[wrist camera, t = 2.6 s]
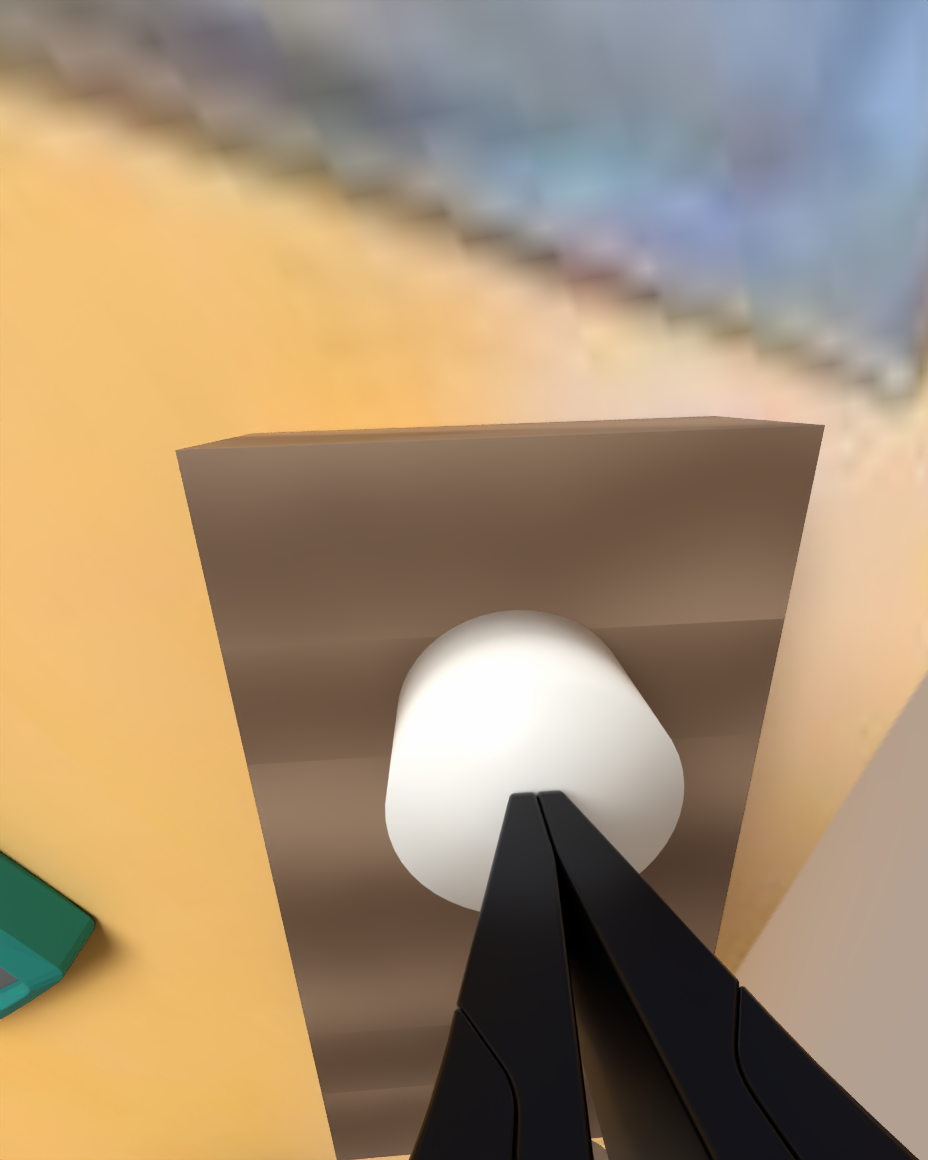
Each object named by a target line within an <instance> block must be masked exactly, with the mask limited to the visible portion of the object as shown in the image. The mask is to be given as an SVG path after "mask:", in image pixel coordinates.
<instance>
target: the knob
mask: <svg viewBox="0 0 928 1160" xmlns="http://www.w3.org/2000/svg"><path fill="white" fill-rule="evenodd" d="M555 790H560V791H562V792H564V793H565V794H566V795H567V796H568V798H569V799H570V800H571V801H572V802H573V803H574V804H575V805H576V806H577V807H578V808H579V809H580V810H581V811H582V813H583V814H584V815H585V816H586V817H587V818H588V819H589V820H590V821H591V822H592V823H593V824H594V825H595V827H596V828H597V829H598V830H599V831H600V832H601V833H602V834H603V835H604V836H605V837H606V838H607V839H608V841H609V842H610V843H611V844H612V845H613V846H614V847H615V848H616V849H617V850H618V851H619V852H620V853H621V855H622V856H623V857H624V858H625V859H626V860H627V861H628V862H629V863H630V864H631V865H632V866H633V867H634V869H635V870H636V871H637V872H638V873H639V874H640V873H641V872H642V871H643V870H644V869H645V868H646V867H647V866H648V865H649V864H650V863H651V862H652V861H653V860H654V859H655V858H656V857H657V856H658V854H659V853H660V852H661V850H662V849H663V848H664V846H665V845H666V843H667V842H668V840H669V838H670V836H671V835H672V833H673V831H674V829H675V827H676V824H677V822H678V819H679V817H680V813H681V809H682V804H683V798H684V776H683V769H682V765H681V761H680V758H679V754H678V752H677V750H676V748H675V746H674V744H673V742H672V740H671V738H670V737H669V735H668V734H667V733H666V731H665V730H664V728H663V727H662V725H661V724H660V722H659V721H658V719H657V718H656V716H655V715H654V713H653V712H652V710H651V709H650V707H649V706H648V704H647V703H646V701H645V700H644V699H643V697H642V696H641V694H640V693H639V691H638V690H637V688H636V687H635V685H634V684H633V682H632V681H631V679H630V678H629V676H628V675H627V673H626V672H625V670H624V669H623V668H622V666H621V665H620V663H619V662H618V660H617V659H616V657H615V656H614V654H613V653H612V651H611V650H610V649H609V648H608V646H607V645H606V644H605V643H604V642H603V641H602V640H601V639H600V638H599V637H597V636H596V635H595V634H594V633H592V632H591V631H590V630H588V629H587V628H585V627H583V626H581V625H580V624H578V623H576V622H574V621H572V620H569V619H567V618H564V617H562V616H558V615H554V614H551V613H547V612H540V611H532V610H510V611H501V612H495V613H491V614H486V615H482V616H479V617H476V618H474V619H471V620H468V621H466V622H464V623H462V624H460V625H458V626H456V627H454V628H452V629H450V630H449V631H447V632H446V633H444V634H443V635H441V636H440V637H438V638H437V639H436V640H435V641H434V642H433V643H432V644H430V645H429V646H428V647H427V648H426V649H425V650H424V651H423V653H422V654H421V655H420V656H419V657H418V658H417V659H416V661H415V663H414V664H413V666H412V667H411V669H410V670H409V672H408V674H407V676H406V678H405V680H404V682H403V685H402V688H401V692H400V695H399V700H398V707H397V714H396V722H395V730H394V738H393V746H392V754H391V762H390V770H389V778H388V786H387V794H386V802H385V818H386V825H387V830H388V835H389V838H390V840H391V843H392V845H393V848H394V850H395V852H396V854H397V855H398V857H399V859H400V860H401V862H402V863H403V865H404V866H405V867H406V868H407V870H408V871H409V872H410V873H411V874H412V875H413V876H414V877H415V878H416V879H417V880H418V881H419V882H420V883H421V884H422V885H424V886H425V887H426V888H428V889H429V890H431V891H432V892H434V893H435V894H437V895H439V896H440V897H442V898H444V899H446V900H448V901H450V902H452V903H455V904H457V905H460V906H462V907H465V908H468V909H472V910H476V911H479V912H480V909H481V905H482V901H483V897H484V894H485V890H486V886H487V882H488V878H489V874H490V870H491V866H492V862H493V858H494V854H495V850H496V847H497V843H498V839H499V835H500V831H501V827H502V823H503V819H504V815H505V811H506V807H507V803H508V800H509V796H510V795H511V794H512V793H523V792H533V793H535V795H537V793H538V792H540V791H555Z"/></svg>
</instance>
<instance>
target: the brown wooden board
mask: <svg viewBox="0 0 928 1160" xmlns="http://www.w3.org/2000/svg"><path fill="white" fill-rule="evenodd" d="M824 427H825V425H815V424H803V423H791V422H778V421H766V420H754V419H742V418H730V417H717V416H709V417H683V418H656V419H629V420H603V421H576V422H549V423H523V424H496V425H469V426H443V427H416V428H389V429H363V430H336V431H310V432H283V433H256V434H248V435H244V436H239V437H234V438H230V439H225V440H221V441H216V442H211V443H207V444H202V445H198V446H193V447H188V448H184V449H179V450H176V455H177V459H178V463H179V468H180V472H181V477H182V481H183V485H184V490H185V494H186V499H187V503H188V507H189V512H190V516H191V521H192V525H193V529H194V534H195V538H196V543H197V547H198V551H199V556H200V560H201V565H202V569H203V573H204V578H205V582H206V586H207V591H208V595H209V600H210V604H211V608H212V613H213V617H214V622H215V626H216V630H217V635H218V639H219V644H220V648H221V652H222V657H223V661H224V666H225V670H226V674H227V679H228V683H229V688H230V692H231V696H232V701H233V705H234V710H235V714H236V718H237V723H238V727H239V731H240V736H241V740H242V745H243V749H244V753H245V758H246V762H247V767H248V771H249V775H250V780H251V784H252V789H253V793H254V797H255V802H256V806H257V811H258V815H259V819H260V824H261V828H262V833H263V837H264V841H265V846H266V850H267V854H268V859H269V863H270V868H271V872H272V876H273V881H274V885H275V890H276V894H277V898H278V903H279V907H280V912H281V916H282V920H283V925H284V929H285V934H286V938H287V942H288V947H289V951H290V956H291V960H292V964H293V969H294V973H295V978H296V982H297V986H298V991H299V995H300V999H301V1004H302V1008H303V1013H304V1017H305V1021H306V1026H307V1030H308V1035H309V1039H310V1043H311V1048H312V1052H313V1057H314V1061H315V1065H316V1070H317V1074H318V1079H319V1083H320V1087H321V1092H322V1096H323V1101H324V1105H325V1109H326V1114H327V1118H328V1122H329V1127H330V1131H331V1136H332V1140H333V1144H334V1149H335V1153H336V1158H337V1160H353V1159H365V1158H376V1157H387V1156H398V1155H409V1154H411V1152H412V1149H413V1147H414V1144H415V1141H416V1138H417V1135H418V1132H419V1129H420V1126H421V1123H422V1120H423V1117H424V1114H425V1112H426V1109H427V1106H428V1103H429V1100H430V1097H431V1093H432V1090H433V1086H434V1083H435V1079H436V1076H437V1072H438V1069H439V1065H440V1062H441V1058H442V1055H443V1051H444V1048H445V1044H446V1040H447V1037H448V1033H449V1029H450V1025H451V1021H452V1017H453V1013H454V1011H455V1010H456V1009H457V1008H456V1003H457V999H458V995H459V991H460V987H461V983H462V980H463V976H464V972H465V968H466V964H467V960H468V956H469V952H470V948H471V944H472V940H473V937H474V933H475V929H476V925H477V921H478V917H479V913H480V912H479V911H476V910H472V909H468V908H465V907H462V906H460V905H457V904H455V903H452V902H450V901H448V900H446V899H444V898H442V897H440V896H439V895H437V894H435V893H434V892H432V891H431V890H429V889H428V888H426V887H425V886H424V885H422V884H421V883H420V882H419V881H418V880H417V879H416V878H415V877H414V876H413V875H412V874H411V873H410V872H409V871H408V870H407V868H406V867H405V866H404V865H403V863H402V862H401V860H400V859H399V857H398V855H397V854H396V852H395V850H394V848H393V845H392V843H391V840H390V838H389V835H388V830H387V825H386V818H385V802H386V794H387V786H388V778H389V770H390V762H391V754H392V746H393V738H394V730H395V722H396V714H397V707H398V700H399V695H400V692H401V688H402V685H403V682H404V680H405V678H406V676H407V674H408V672H409V670H410V669H411V667H412V666H413V664H414V663H415V661H416V659H417V658H418V657H419V656H420V655H421V654H422V653H423V651H424V650H425V649H426V648H427V647H428V646H429V645H430V644H432V643H433V642H434V641H435V640H436V639H437V638H438V637H440V636H441V635H443V634H444V633H446V632H447V631H449V630H450V629H452V628H454V627H456V626H458V625H460V624H462V623H464V622H466V621H468V620H471V619H474V618H476V617H479V616H482V615H486V614H491V613H495V612H501V611H510V610H532V611H540V612H547V613H551V614H554V615H558V616H562V617H564V618H567V619H569V620H572V621H574V622H576V623H578V624H580V625H581V626H583V627H585V628H587V629H588V630H590V631H591V632H592V633H594V634H595V635H596V636H597V637H599V638H600V639H601V640H602V641H603V642H604V643H605V644H606V645H607V646H608V648H609V649H610V650H611V651H612V653H613V654H614V656H615V657H616V659H617V660H618V662H619V663H620V665H621V666H622V668H623V669H624V670H625V672H626V673H627V675H628V676H629V678H630V679H631V681H632V682H633V684H634V685H635V687H636V688H637V690H638V691H639V693H640V694H641V696H642V697H643V699H644V700H645V701H646V703H647V704H648V706H649V707H650V709H651V710H652V712H653V713H654V715H655V716H656V718H657V719H658V721H659V722H660V724H661V725H662V727H663V728H664V730H665V731H666V733H667V734H668V735H669V737H670V738H671V740H672V742H673V744H674V746H675V748H676V750H677V752H678V754H679V758H680V761H681V765H682V769H683V776H684V798H683V804H682V809H681V813H680V817H679V819H678V822H677V824H676V827H675V829H674V831H673V833H672V835H671V836H670V838H669V840H668V842H667V843H666V845H665V846H664V848H663V849H662V850H661V852H660V853H659V854H658V856H657V857H656V858H655V859H654V860H653V861H652V862H651V863H650V864H649V865H648V866H647V867H646V868H645V869H644V870H643V871H642V872H641V873H640V875H641V876H642V877H643V878H644V879H645V880H646V881H647V883H648V884H649V885H650V886H651V887H652V888H653V889H654V890H655V891H656V892H657V893H658V894H659V895H660V896H661V898H662V899H663V900H664V901H665V902H666V903H667V904H668V905H669V906H670V907H671V908H672V909H673V910H674V912H675V913H676V914H677V915H678V916H679V917H680V918H681V919H682V920H683V921H684V922H685V923H686V924H687V926H688V927H689V928H690V929H691V930H692V931H693V932H694V933H695V934H696V935H697V936H698V937H699V938H700V940H701V941H702V942H703V943H704V944H705V945H706V946H707V947H708V948H709V949H710V950H711V951H712V952H713V954H714V953H715V949H716V944H717V939H718V934H719V929H720V925H721V920H722V915H723V910H724V905H725V901H726V896H727V891H728V886H729V882H730V877H731V872H732V867H733V862H734V858H735V853H736V848H737V843H738V838H739V834H740V829H741V824H742V819H743V815H744V810H745V805H746V800H747V795H748V791H749V786H750V781H751V776H752V771H753V767H754V762H755V757H756V752H757V748H758V743H759V738H760V733H761V728H762V724H763V719H764V714H765V709H766V704H767V700H768V695H769V690H770V685H771V681H772V676H773V671H774V666H775V661H776V657H777V652H778V647H779V642H780V637H781V633H782V628H783V623H784V618H785V614H786V609H787V604H788V599H789V594H790V590H791V585H792V580H793V575H794V571H795V566H796V561H797V556H798V551H799V547H800V542H801V537H802V532H803V527H804V523H805V518H806V513H807V508H808V504H809V499H810V494H811V489H812V484H813V480H814V475H815V470H816V465H817V460H818V456H819V451H820V446H821V441H822V437H823V432H824ZM581 1060H582V1058H581ZM582 1068H583V1076H584V1084H585V1092H586V1100H587V1108H588V1116H589V1124H590V1132H591V1138H600V1137H603V1136H602V1133H601V1129H600V1125H599V1122H598V1118H597V1114H596V1110H595V1107H594V1103H593V1099H592V1095H591V1092H590V1088H589V1084H588V1080H587V1077H586V1073H585V1069H584V1065H583V1062H582Z"/></svg>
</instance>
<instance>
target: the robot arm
mask: <svg viewBox="0 0 928 1160" xmlns="http://www.w3.org/2000/svg"><path fill="white" fill-rule="evenodd" d="M456 1008H457V1009H456V1010H455V1011H454V1013H453V1017H452V1021H451V1025H450V1029H449V1033H448V1037H447V1040H446V1044H445V1048H444V1051H443V1055H442V1058H441V1062H440V1065H439V1069H438V1072H437V1076H436V1079H435V1083H434V1086H433V1090H432V1093H431V1097H430V1100H429V1103H428V1106H427V1109H426V1112H425V1114H424V1117H423V1120H422V1123H421V1126H420V1129H419V1132H418V1135H417V1138H416V1141H415V1144H414V1147H413V1149H412V1152H411V1155H410V1158H409V1160H594V1156H593V1148H592V1140H591V1132H590V1124H589V1116H588V1108H587V1100H586V1092H585V1084H584V1076H583V1068H582V1062H583V1065H584V1069H585V1073H586V1077H587V1080H588V1084H589V1088H590V1092H591V1095H592V1099H593V1103H594V1107H595V1110H596V1114H597V1118H598V1122H599V1125H600V1129H601V1133H602V1136H603V1140H604V1144H605V1148H606V1151H607V1155H608V1159H609V1160H919V1159H918V1158H916V1157H915V1156H914V1155H913V1154H912V1153H911V1152H910V1151H909V1150H908V1149H907V1148H906V1147H905V1146H904V1145H903V1144H902V1143H900V1142H899V1141H898V1140H897V1139H896V1138H895V1137H894V1136H893V1135H892V1134H891V1133H890V1132H889V1131H888V1130H887V1129H885V1128H884V1127H883V1126H882V1125H881V1124H880V1123H879V1122H878V1121H877V1120H876V1119H875V1118H874V1117H873V1116H872V1115H871V1114H869V1112H867V1111H866V1110H865V1109H864V1108H863V1107H862V1106H861V1105H860V1104H859V1103H858V1102H857V1101H856V1100H855V1099H854V1098H853V1097H852V1096H851V1095H850V1094H849V1093H848V1092H847V1091H846V1090H845V1089H844V1088H843V1087H842V1086H840V1085H839V1084H838V1083H837V1082H836V1081H835V1080H834V1079H833V1078H832V1077H831V1076H830V1075H829V1074H828V1073H827V1072H826V1071H825V1070H824V1069H823V1068H822V1067H821V1066H820V1065H819V1064H818V1063H817V1062H816V1061H815V1060H814V1059H813V1058H812V1057H811V1056H810V1055H809V1054H808V1053H807V1052H806V1051H805V1050H804V1049H803V1048H802V1047H801V1046H800V1045H799V1044H798V1043H797V1042H796V1041H795V1040H794V1039H793V1037H791V1035H789V1033H788V1032H787V1031H786V1030H785V1029H784V1028H783V1027H782V1026H781V1025H780V1024H779V1023H778V1022H777V1021H776V1020H775V1019H774V1018H773V1017H772V1016H771V1015H770V1014H769V1013H768V1011H767V1010H766V1009H765V1008H764V1007H763V1006H762V1005H761V1004H760V1003H759V1002H758V1001H757V1000H756V999H755V997H754V996H753V995H752V994H751V993H750V992H749V991H748V990H747V989H746V988H745V987H743V986H741V987H740V988H739V981H738V979H737V978H736V977H735V976H734V975H733V974H732V973H731V972H730V971H729V970H728V969H727V968H726V966H725V965H724V964H723V963H722V962H721V961H720V960H719V959H718V958H717V957H716V956H715V955H714V954H713V952H712V951H711V950H710V949H709V948H708V947H707V946H706V945H705V944H704V943H703V942H702V941H701V940H700V938H699V937H698V936H697V935H696V934H695V933H694V932H693V931H692V930H691V929H690V928H689V927H688V926H687V924H686V923H685V922H684V921H683V920H682V919H681V918H680V917H679V916H678V915H677V914H676V913H675V912H674V910H673V909H672V908H671V907H670V906H669V905H668V904H667V903H666V902H665V901H664V900H663V899H662V898H661V896H660V895H659V894H658V893H657V892H656V891H655V890H654V889H653V888H652V887H651V886H650V885H649V884H648V883H647V881H646V880H645V879H644V878H643V877H642V876H641V875H640V874H639V873H638V872H637V871H636V870H635V869H634V867H633V866H632V865H631V864H630V863H629V862H628V861H627V860H626V859H625V858H624V857H623V856H622V855H621V853H620V852H619V851H618V850H617V849H616V848H615V847H614V846H613V845H612V844H611V843H610V842H609V841H608V839H607V838H606V837H605V836H604V835H603V834H602V833H601V832H600V831H599V830H598V829H597V828H596V827H595V825H594V824H593V823H592V822H591V821H590V820H589V819H588V818H587V817H586V816H585V815H584V814H583V813H582V811H581V810H580V809H579V808H578V807H577V806H576V805H575V804H574V803H573V802H572V801H571V800H570V799H569V798H568V796H567V795H566V794H565V793H564V792H562V791H560V790H555V791H540V792H538V793H537V795H535V793H533V792H523V793H512V794H511V795H510V796H509V800H508V803H507V807H506V811H505V815H504V819H503V823H502V827H501V831H500V835H499V839H498V843H497V847H496V850H495V854H494V858H493V862H492V866H491V870H490V874H489V878H488V882H487V886H486V890H485V894H484V897H483V901H482V905H481V909H480V913H479V917H478V921H477V925H476V929H475V933H474V937H473V940H472V944H471V948H470V952H469V956H468V960H467V964H466V968H465V972H464V976H463V980H462V983H461V987H460V991H459V995H458V999H457V1003H456ZM581 1058H582V1060H581Z"/></svg>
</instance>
